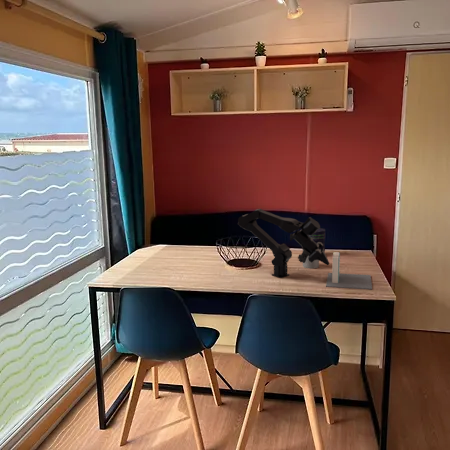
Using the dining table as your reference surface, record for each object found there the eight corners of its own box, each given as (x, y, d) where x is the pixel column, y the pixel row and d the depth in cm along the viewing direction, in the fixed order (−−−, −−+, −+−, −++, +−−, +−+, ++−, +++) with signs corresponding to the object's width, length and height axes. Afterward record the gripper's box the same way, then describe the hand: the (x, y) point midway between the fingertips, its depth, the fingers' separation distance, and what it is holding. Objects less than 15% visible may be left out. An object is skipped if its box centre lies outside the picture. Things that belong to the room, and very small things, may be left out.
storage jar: (320, 258, 254) (320, 232, 251) (304, 256, 260) (304, 230, 257) (327, 254, 262) (328, 228, 259) (312, 252, 268) (312, 227, 265)
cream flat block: (332, 282, 212) (332, 257, 209) (333, 276, 221) (333, 252, 219) (338, 283, 211) (339, 257, 209) (339, 276, 220) (339, 252, 218)
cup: (300, 267, 239) (300, 248, 237) (305, 263, 246) (305, 245, 244) (316, 269, 235) (316, 250, 233) (320, 265, 242) (321, 246, 240)
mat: (325, 286, 208) (326, 285, 208) (328, 273, 227) (328, 272, 227) (372, 289, 203) (372, 288, 202) (370, 275, 221) (370, 274, 221)
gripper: (295, 247, 228) (317, 269, 227) (290, 257, 210) (314, 281, 209) (311, 232, 224) (334, 255, 223) (307, 241, 206) (332, 265, 205)
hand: (328, 264), depth 215 cm, fingers closed
